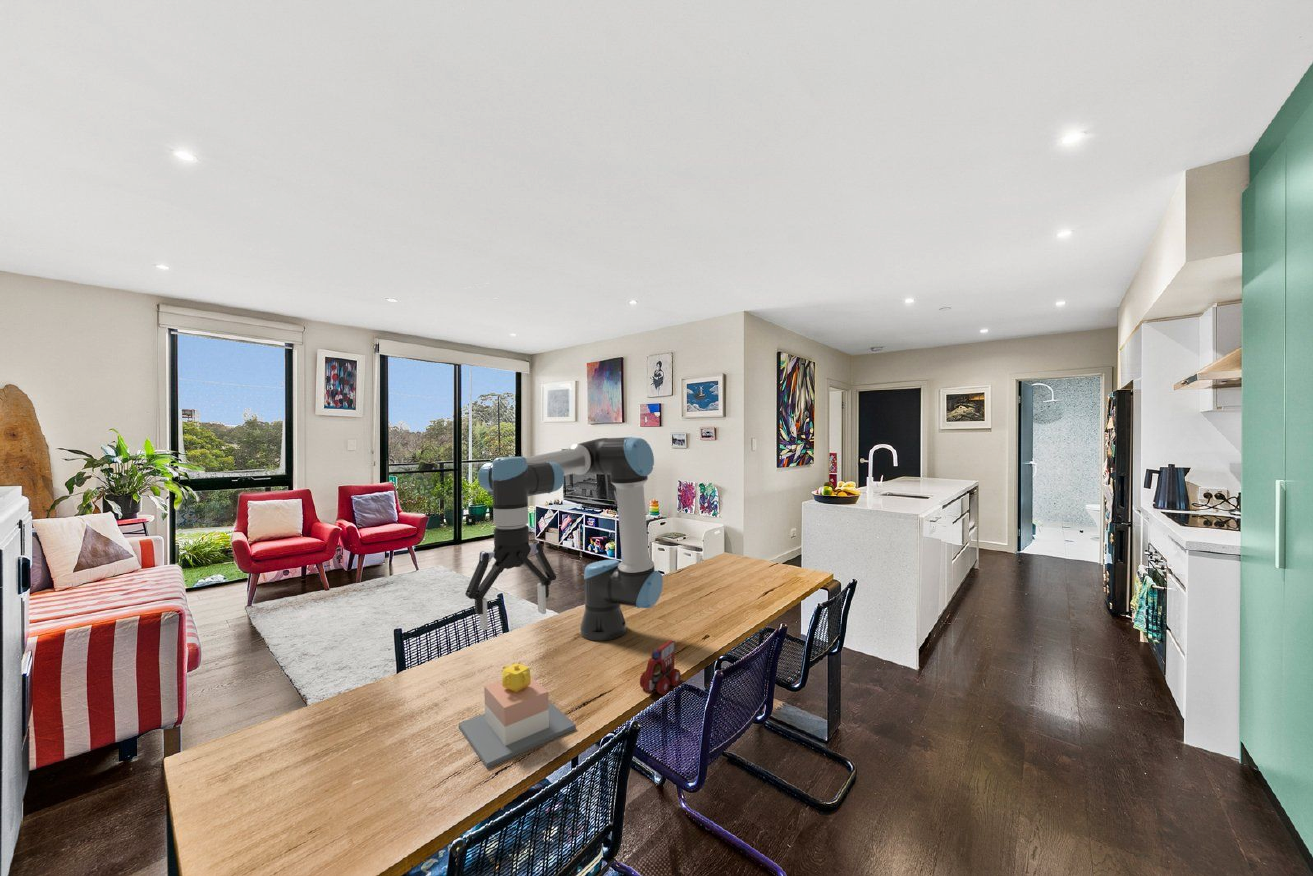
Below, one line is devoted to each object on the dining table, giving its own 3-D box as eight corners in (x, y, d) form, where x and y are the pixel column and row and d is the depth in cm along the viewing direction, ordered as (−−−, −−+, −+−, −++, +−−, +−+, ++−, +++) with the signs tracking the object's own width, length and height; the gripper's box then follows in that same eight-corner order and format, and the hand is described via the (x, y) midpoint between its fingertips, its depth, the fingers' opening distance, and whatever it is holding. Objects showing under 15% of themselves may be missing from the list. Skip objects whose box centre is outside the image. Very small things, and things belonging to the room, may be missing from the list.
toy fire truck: (635, 693, 126) (634, 652, 125) (663, 673, 136) (662, 635, 135) (657, 701, 121) (656, 659, 121) (684, 680, 132) (683, 641, 131)
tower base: (540, 696, 125) (539, 661, 125) (575, 729, 111) (574, 689, 111) (458, 727, 112) (457, 688, 112) (486, 768, 98) (485, 723, 98)
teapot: (491, 690, 111) (491, 667, 111) (512, 679, 116) (511, 657, 116) (515, 700, 107) (515, 676, 107) (536, 688, 112) (535, 665, 111)
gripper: (554, 516, 122) (556, 602, 122) (448, 531, 106) (451, 629, 107) (568, 520, 116) (571, 610, 116) (459, 536, 100) (462, 640, 101)
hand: (514, 620), depth 111 cm, fingers open, 13 cm apart
